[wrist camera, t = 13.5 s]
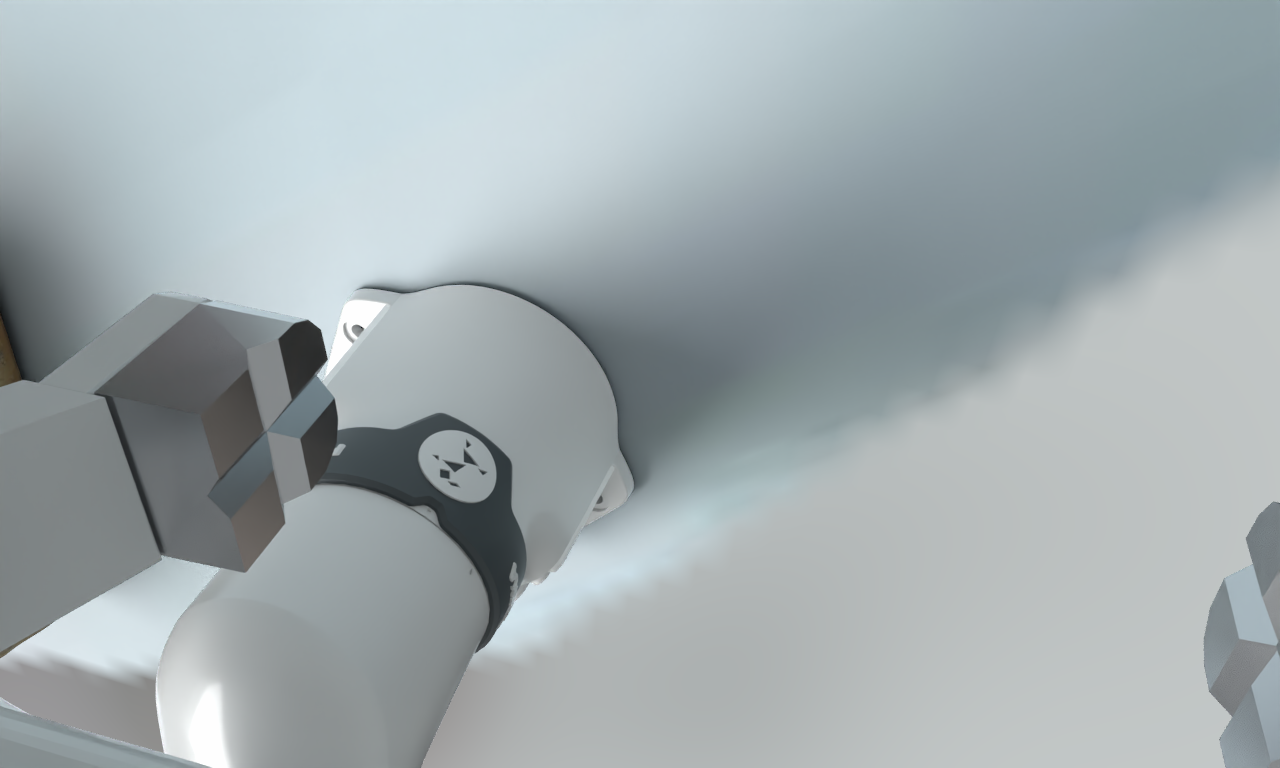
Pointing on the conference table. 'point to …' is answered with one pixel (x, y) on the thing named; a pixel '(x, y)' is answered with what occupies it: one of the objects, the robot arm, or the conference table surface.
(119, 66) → the conference table surface
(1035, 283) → the conference table surface
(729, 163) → the conference table surface
